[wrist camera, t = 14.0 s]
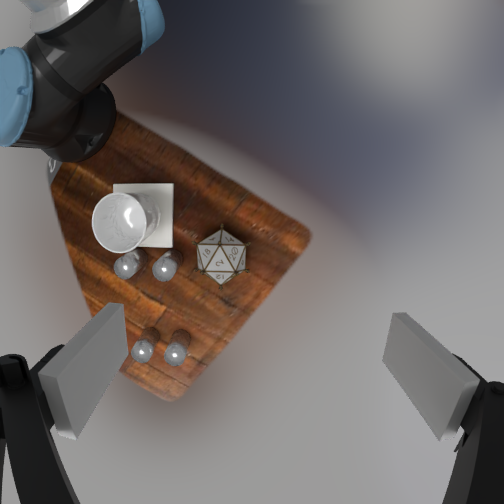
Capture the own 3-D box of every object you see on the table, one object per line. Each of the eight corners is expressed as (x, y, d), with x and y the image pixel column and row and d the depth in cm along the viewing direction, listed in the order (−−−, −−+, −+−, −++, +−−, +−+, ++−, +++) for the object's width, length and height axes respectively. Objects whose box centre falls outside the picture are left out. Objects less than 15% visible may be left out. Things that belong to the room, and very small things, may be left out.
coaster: (115, 184, 49) (113, 184, 48) (173, 183, 49) (172, 183, 48) (115, 244, 51) (114, 245, 50) (173, 246, 51) (172, 247, 50)
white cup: (121, 241, 50) (96, 255, 40) (115, 193, 48) (88, 196, 38) (167, 237, 50) (150, 250, 40) (162, 187, 48) (143, 188, 38)
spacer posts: (129, 247, 51) (113, 257, 44) (189, 249, 51) (181, 260, 44) (135, 341, 54) (123, 360, 48) (190, 346, 55) (184, 366, 48)
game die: (219, 235, 55) (216, 202, 46) (260, 264, 53) (265, 235, 44) (184, 275, 51) (173, 248, 42) (226, 307, 50) (223, 285, 40)
